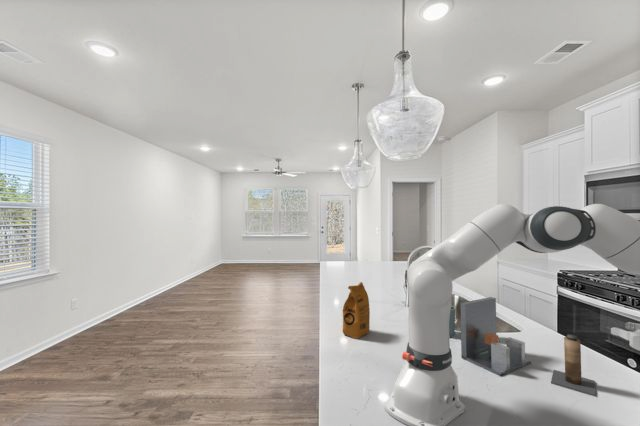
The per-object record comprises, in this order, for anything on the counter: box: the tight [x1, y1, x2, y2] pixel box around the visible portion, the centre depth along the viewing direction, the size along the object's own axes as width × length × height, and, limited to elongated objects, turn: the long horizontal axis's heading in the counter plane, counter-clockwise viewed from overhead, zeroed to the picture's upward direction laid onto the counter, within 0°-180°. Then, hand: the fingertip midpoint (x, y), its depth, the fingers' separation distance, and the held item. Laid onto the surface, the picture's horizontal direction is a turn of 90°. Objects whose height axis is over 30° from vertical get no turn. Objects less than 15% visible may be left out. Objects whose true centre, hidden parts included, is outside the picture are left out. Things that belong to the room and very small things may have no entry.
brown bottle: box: [563, 334, 582, 385], centre depth 90 cm, size 4×4×14 cm
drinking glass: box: [449, 304, 456, 338], centre depth 129 cm, size 10×10×12 cm
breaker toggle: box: [485, 333, 499, 356], centre depth 105 cm, size 3×3×7 cm
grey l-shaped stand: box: [460, 296, 532, 377], centre depth 104 cm, size 18×14×20 cm
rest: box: [550, 369, 597, 397], centre depth 89 cm, size 10×10×1 cm
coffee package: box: [342, 281, 371, 340], centre depth 130 cm, size 10×12×22 cm
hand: (619, 327), depth 80 cm, fingers open, 8 cm apart
